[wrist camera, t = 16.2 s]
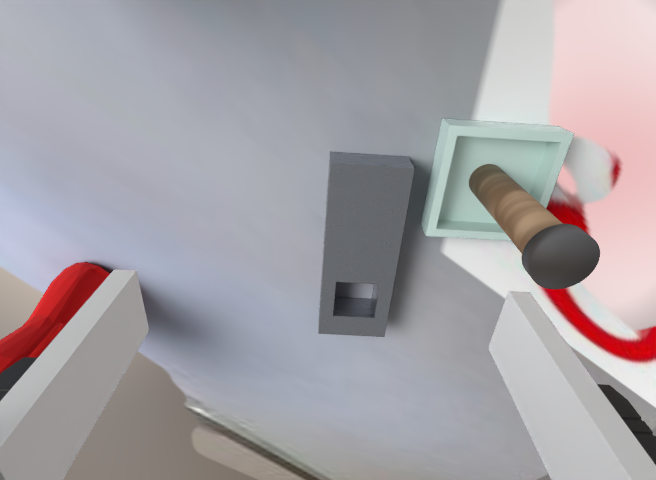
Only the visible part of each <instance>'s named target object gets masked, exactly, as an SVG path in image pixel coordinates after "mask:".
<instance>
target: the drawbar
mask: <svg viewBox="0 0 656 480" xmlns="http://www.w3.org/2000/svg"><path fill="white" fill-rule="evenodd" d="M414 170H415V168H414V166H413V164H412V162H411V161H410V159H409V157H405V156H389V155H374V154H358V153H342V152H330V161H329V176H328V191H327V206H326V221H325V235H324V250H323V265H322V280H321V295H320V309H319V332H318V334H338V335H357V336H376V337H384V336H385V330H386V325H387V319H388V314H389V308H390V303H391V297H392V292H393V286H394V281H395V275H396V270H397V264H398V258H399V253H400V247H401V242H402V236H403V231H404V225H405V220H406V214H407V209H408V203H409V198H410V192H411V187H412V181H413V176H414ZM336 282H350V283H368V284H374V287H373V294H372V299H363V298H344V297H335V288H336Z"/></svg>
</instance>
